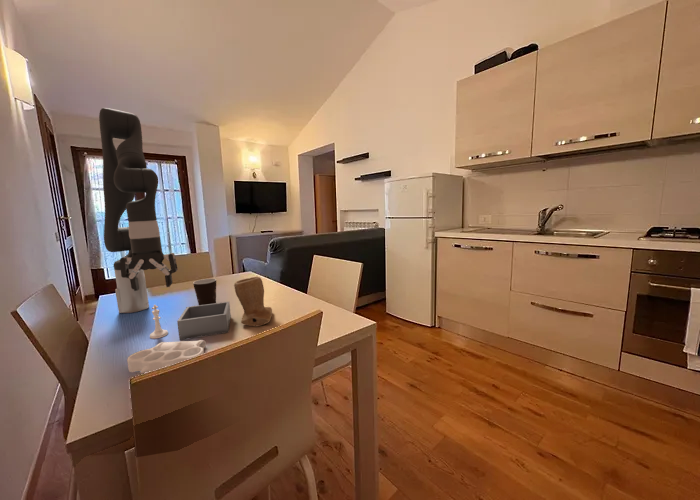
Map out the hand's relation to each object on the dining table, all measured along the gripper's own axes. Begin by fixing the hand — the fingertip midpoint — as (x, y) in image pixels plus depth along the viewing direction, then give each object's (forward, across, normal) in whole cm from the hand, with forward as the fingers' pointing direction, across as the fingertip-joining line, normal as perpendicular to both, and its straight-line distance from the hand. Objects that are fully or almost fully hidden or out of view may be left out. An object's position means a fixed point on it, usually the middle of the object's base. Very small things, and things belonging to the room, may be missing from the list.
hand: (152, 288), depth 90 cm
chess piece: (+15, 0, 0) cm, 16 cm away
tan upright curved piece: (+16, -29, -1) cm, 33 cm away
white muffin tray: (+16, -8, +20) cm, 27 cm away
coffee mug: (+15, -11, -28) cm, 34 cm away
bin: (+15, -14, 0) cm, 21 cm away
